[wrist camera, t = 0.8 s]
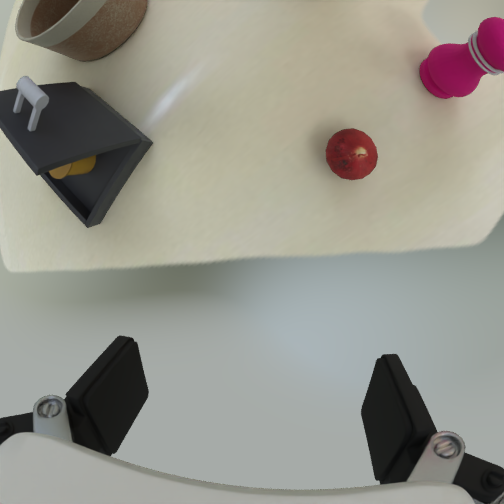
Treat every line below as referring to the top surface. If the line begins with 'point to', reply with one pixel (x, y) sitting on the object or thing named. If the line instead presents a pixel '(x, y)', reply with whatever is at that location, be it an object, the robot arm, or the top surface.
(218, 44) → the top surface
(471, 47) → the pepper mill
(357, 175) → the onion
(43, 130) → the lid
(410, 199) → the top surface
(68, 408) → the robot arm
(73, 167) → the coffee pod
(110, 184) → the dark grey lidded tray
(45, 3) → the planter
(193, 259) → the top surface
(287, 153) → the top surface
